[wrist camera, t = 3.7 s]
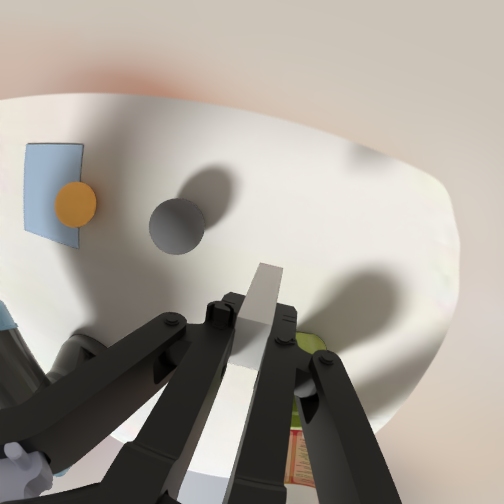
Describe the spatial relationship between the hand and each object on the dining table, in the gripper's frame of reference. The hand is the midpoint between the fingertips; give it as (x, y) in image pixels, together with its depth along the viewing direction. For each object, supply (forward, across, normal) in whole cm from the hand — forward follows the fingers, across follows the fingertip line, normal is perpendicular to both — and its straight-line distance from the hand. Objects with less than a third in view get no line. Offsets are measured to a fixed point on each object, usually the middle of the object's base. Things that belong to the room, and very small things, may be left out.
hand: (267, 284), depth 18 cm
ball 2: (+8, +10, 0) cm, 13 cm away
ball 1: (+8, +24, 0) cm, 25 cm away
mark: (+11, +33, 0) cm, 35 cm away
